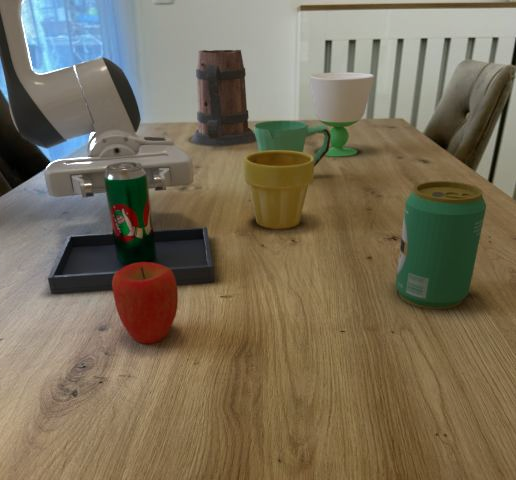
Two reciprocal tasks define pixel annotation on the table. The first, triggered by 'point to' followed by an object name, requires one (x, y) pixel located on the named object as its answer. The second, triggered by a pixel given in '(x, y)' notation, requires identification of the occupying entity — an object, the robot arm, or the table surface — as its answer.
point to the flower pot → (278, 185)
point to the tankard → (221, 99)
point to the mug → (289, 136)
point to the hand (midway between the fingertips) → (124, 187)
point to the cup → (340, 104)
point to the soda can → (130, 212)
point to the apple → (146, 300)
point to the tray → (106, 265)
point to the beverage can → (439, 243)
